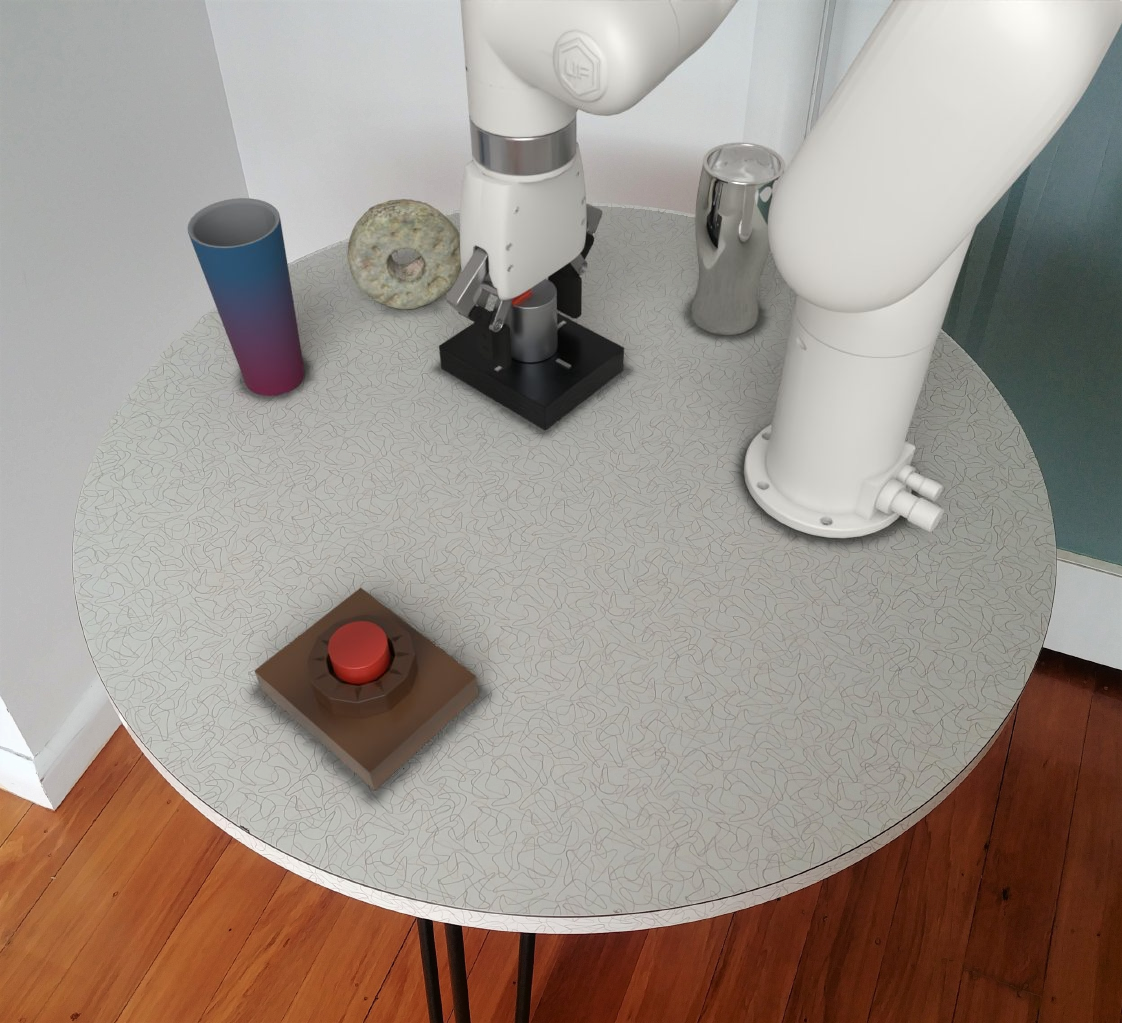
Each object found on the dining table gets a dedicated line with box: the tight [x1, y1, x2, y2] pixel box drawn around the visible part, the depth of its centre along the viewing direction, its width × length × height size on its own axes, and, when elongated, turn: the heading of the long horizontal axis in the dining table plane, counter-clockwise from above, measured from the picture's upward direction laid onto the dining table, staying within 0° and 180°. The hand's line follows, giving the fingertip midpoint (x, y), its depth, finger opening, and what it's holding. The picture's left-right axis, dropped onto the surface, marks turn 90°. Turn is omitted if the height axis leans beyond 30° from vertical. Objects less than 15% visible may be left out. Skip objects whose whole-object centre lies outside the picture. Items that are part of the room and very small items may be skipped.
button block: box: [254, 587, 479, 791], centre depth 67 cm, size 11×9×4 cm
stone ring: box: [346, 198, 461, 310], centre depth 94 cm, size 10×4×10 cm, turn 96°
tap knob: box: [504, 278, 558, 362], centre depth 87 cm, size 4×4×6 cm
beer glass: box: [690, 141, 786, 336], centre depth 90 cm, size 7×7×15 cm
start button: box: [328, 621, 391, 684], centre depth 65 cm, size 4×4×2 cm
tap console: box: [438, 309, 625, 431], centre depth 90 cm, size 12×10×3 cm
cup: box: [187, 197, 306, 397], centre depth 85 cm, size 7×7×15 cm
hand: (530, 334), depth 88 cm, fingers open, 8 cm apart
